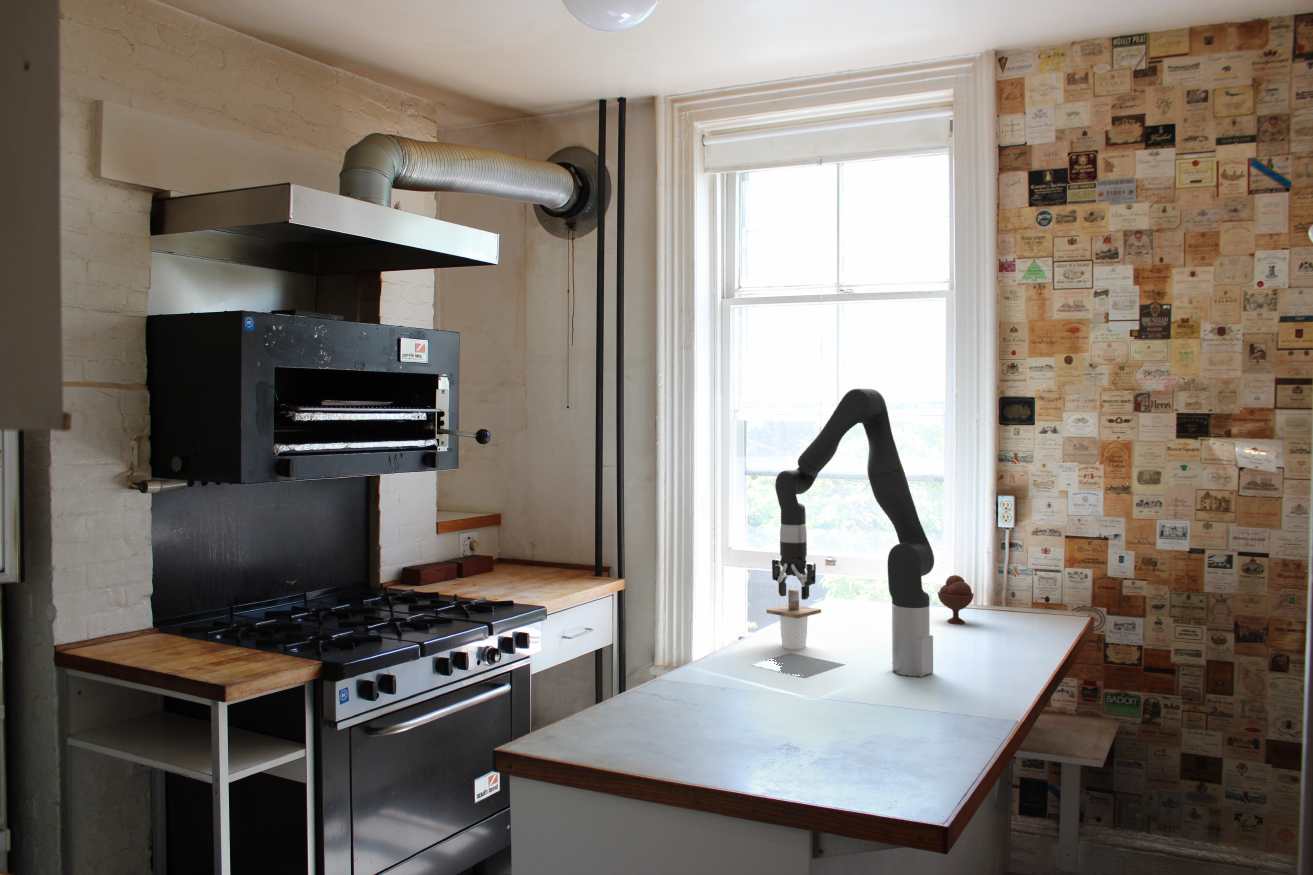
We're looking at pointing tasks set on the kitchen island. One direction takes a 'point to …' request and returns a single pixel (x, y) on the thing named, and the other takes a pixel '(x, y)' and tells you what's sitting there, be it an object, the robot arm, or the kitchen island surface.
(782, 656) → the mat
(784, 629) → the white cup
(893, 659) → the robot arm
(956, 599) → the ice cream bowl
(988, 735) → the kitchen island surface
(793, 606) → the lid
